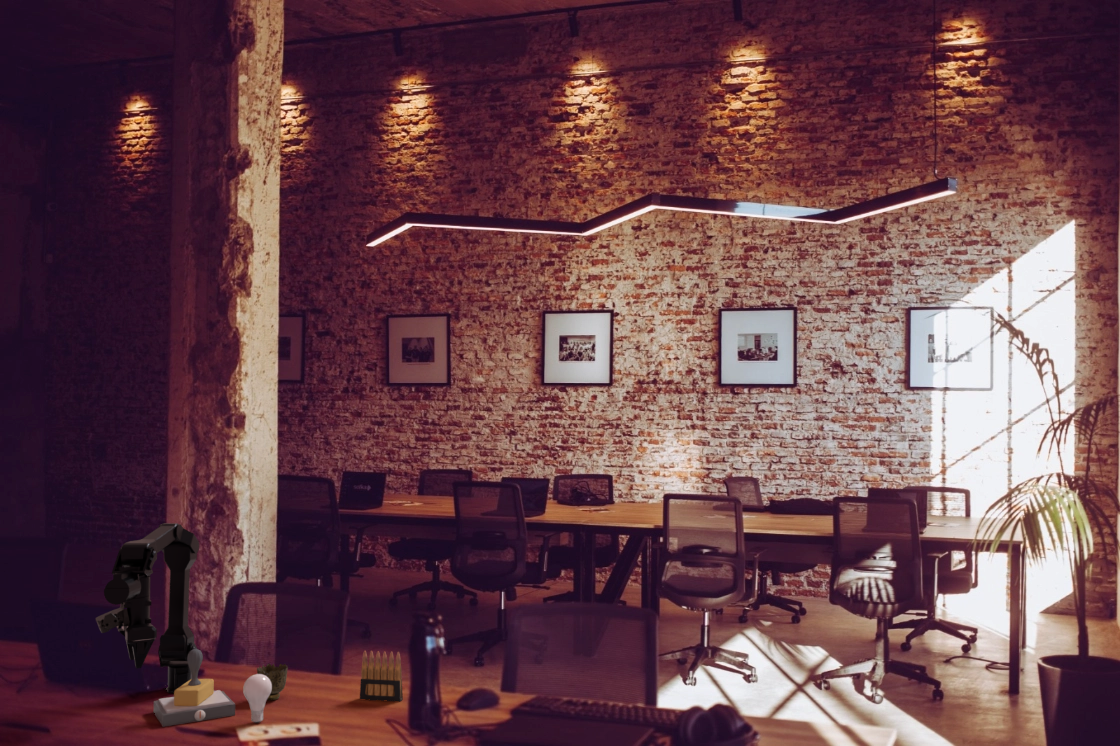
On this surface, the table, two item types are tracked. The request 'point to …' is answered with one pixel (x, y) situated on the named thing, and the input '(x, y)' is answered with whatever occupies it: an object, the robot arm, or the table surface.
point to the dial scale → (194, 710)
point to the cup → (275, 678)
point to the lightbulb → (257, 695)
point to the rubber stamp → (194, 684)
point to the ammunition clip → (381, 678)
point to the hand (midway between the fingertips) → (135, 663)
